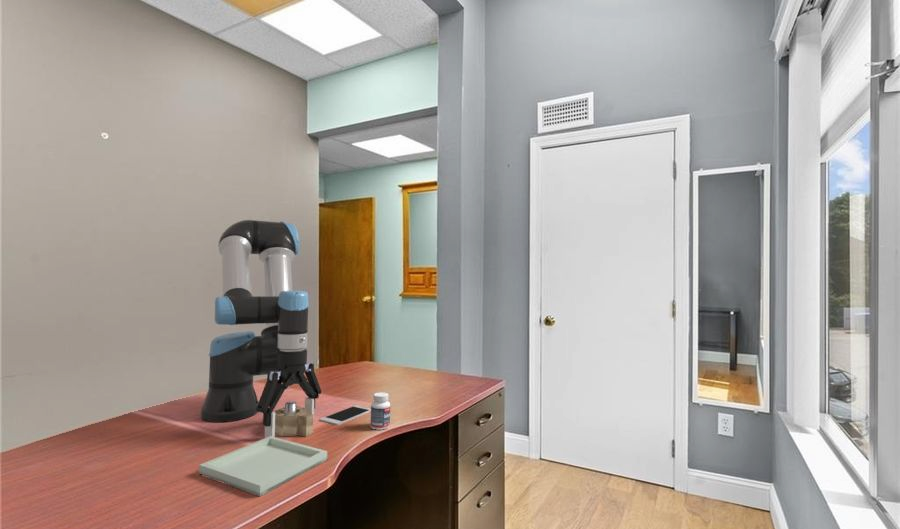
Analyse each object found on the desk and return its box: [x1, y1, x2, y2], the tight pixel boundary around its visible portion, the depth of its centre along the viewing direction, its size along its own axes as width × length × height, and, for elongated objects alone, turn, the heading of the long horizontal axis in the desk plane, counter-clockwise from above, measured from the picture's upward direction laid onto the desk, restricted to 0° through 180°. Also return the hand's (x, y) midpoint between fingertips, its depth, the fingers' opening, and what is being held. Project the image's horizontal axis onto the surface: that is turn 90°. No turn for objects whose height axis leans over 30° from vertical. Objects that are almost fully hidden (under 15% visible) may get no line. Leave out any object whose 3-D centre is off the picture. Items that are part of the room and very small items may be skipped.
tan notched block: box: [274, 405, 314, 438], centre depth 114 cm, size 11×8×5 cm
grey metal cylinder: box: [284, 401, 297, 415], centre depth 115 cm, size 3×3×7 cm
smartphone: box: [319, 404, 371, 426], centre depth 128 cm, size 7×15×1 cm, turn 151°
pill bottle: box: [370, 391, 391, 431], centre depth 119 cm, size 5×5×9 cm
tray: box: [198, 436, 328, 497], centre depth 94 cm, size 18×18×2 cm
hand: (290, 429), depth 115 cm, fingers open, 13 cm apart
